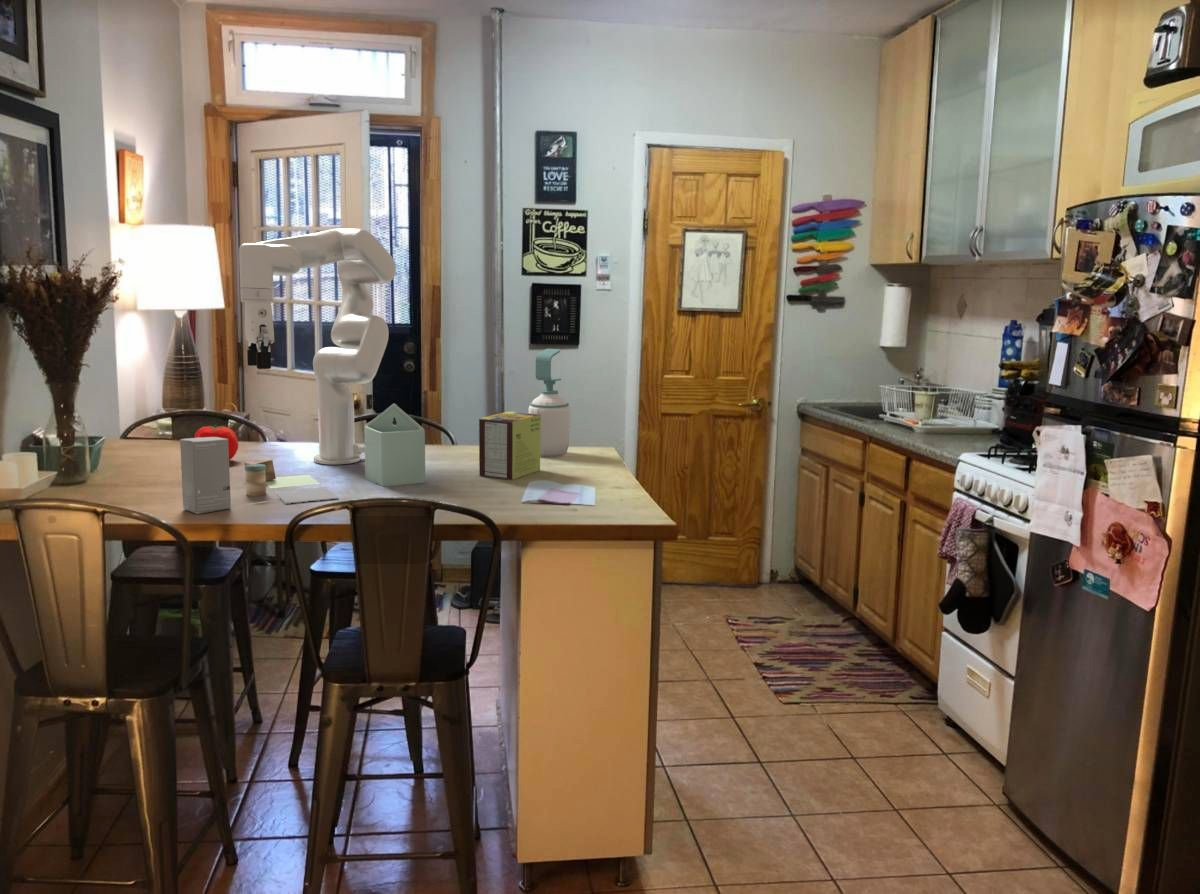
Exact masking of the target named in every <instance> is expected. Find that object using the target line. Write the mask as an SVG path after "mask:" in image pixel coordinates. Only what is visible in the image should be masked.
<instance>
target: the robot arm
mask: <svg viewBox="0 0 1200 894" xmlns="http://www.w3.org/2000/svg"><path fill="white" fill-rule="evenodd" d="M238 259H239V284H240V285H239V287H240V289H239V290H240V291H239V293H240V302H241V303H244V334H245V340H246V341H247V343H246V345H247V346H246V347H247V349H246V353H247V357H246V358H247V359H246V360H247V366H250V367H253V366H254V367H256V369H257V370H271V368H272V352H271V344H273V343H274V342H275V331H274V330H275V329H274V327H275V326H274V318H273V317H274V314H273V308H272V303H274V302H275V300H274V297H275V295H274V291H275V290H274V276H275V277H276V276H283V277H284V276H285V277H287V276H292V275H295V274H298V272H299V271H300V270H301V269H311V268H313V269H314V268H320V267H322V266H325V265H329V264H333V263H334V264H335V263H337V265H336V270H337V276H338V277H339V281H340V284H341V287H342V288H341V289H342V292H343V293H342V295H343V297H342V298H343V299H342V302H341V305H340V307H339V310H338V312H337V314H336V317H335V320H334V323H333V325H332V328H331V331H330V338H331V341H332V342H333V344H334V345H336V346H327V347H323V348H321V349H319V350H318V351H316V352H315V354H314V356H313V360H312V368H313V373H314V377H315V381H316V389H317V416H318V417H317V418H318V420H317V421H318V442H319V443H318V445H319V446H318V447H319V451H318V453H319V454H317V455H315V456H313V462H315V463H316V464H321V465H333V466H334V465H347V464H354V463H358V462H360V461H361V460H362V459H361V458H362V457H361V456H362V455H361V454H362V453H364V454H365V445H359V444H357V443H356V441H355V439H356V438H355V402H354V395H353V392H352V390H351V387H350V386H349V384H360V385H361V384H363V385H364V384H368V383H370V382H371V381H373V380H374V378H375V377H376V375H377V373H378V370H379V367H380V366H381V365H380V364H381V362H382V358H383V357H384V354H385V351H386V348H387V345H388V341H389V335H390V333H389V327H388V323H387V322H386V320H385V319H384V318H383V317H381V316H379V315H377V314H376V315H375V314H372V312H373V309H374V302H373V298H372V295H371V293H370V292H369V291H368V288H367V287H366V285H365V284H367V285H369V284H370V285H371V284H373V285H376V284H377V285H384V284H389V283H391V282H392V281H393V280H394V278H395V276H396V273H397V267H396V263H395V260H394V258H393V257H392V255H391V254H390V252H388V250H387V249H386V248H385V247H384V245H383V244H382V243H381V242H380V241H379V239H378V238H377V237H375V236H374V235H373V234H372V233H371V232H370V231H368V230H366V229H363V228H332V229H331V228H330V229H327V230H323V231H318V232H314V233H309V234H303V235H302V234H301V235H296V236H290V237H286V238H284V237H283V238H278V239H271V240H270V239H269V240H265V241H259V242H256V243H253V242H251V243H250V242H249V243H248V242H247V243H246V242H245V243H242V244H241V245H240V246H239V249H238ZM348 383H349V384H348Z"/></svg>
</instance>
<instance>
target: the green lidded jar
mask: <svg viewBox="0 0 1200 894" xmlns="http://www.w3.org/2000/svg"><path fill="white" fill-rule="evenodd" d="M265 469H266V465H263V464H251V465H246V466H245V465H244V472H245V473H244V474H245V494H246V496H248V497H249V496H250V497H253V496H254V497H255V496H264V495H266V494H267V485H266V476H265Z"/></svg>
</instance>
